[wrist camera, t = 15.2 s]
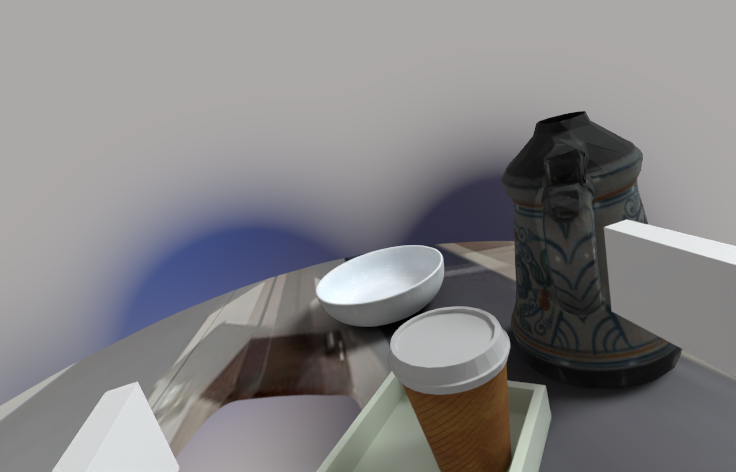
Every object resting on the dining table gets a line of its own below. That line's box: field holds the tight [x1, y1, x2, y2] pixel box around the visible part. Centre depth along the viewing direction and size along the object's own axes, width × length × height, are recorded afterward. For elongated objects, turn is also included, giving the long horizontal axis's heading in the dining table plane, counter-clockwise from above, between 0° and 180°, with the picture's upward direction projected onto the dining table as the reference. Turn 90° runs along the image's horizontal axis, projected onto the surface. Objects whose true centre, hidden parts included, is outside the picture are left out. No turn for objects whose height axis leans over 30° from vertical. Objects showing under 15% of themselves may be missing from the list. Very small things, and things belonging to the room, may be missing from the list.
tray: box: [316, 372, 551, 472], centre depth 36 cm, size 16×16×4 cm
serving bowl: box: [316, 245, 444, 327], centre depth 67 cm, size 21×21×7 cm
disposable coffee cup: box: [388, 306, 512, 472], centre depth 34 cm, size 10×10×12 cm
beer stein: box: [502, 111, 682, 388], centre depth 41 cm, size 16×19×25 cm
